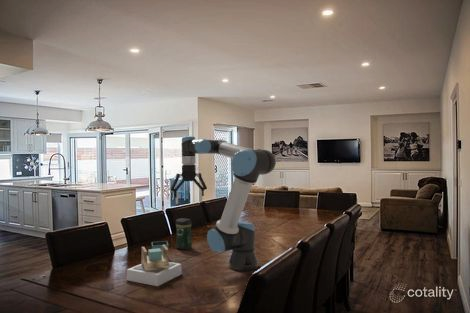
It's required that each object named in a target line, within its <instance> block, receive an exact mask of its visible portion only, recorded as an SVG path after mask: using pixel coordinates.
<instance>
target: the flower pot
mask: <svg viewBox="0 0 470 313" xmlns="http://www.w3.org/2000/svg"><path fill="white" fill-rule="evenodd" d="M162 245H165V246H166V247H167V248H168V249H169V243H168V240H163V241H152V242H151V249H158V248H160V249H161V251H162Z"/></svg>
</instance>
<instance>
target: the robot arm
mask: <svg viewBox="0 0 470 313" xmlns="http://www.w3.org/2000/svg"><path fill="white" fill-rule="evenodd" d="M196 154H214V155H220V156H222V157H223V156H224V157H227V158H230V159H231V162H230V163H231V164H230V165H231V171H232V174H233V175H232V176H233V177H234V179H233V182H232V186H231V188H230V191H229V195H228V197H227V200H226V202H225V205H224V209H223V212H222V215H221V217H220V219H218V220H217V221H216V223H215V225H214V228H211V229H209V230H208V231H207V234H206V238H207V245H208V246H209V248H210V249H211V251H213V252H214V253H224V252H228V251H231V254H230V257H229V261H228V268H229V269H231V270H233V271H240V272H241V271H242V272H243V271H244V272H245V271H253V270H256V269H258V267H259V262H258V258H257V255H256V252H255V242H256V241H255V240H256V239H255V234H256V233H255V225H254V223H252V222H249V221H240V219H241V216H242V213H243V211H244V208H245V206H246V203H247V200H248V197H249V194H250V191H251V189H252V186H253V185H254V184H256V183H257V181H258V179H259V177H260V176H261V175H262V176H263V175H267V174H270V173H271V172H272V171H274V169H275V167H276V162H277V161H276V157H275V155H274V153H273V152H271V151H269V150H267V149H260V148H257V149H253V148H249V147H246V146H241V145H238V144H234V143H230V142H227V140H224V139H206V138H200V139H196V137H195V136H182V138H181V164H182V165H181V173H176V174H175V177H174V178H175V179H174V181H173V183H172V185H171V187H170V191H172V192H173V198H175V204H176V205H178V204H179V191H178V190H179V189H180V188H181V186H182V185H184V183H185V182H193V183H194V184H195V185H196V186H197V187H198V189H200V190H199V194H198V195H199V196H198V197H199V203H203V197H204V196H205V192H204V191H205V190H207V189H208V188H207V185H206V183H205V181H204V179H203V177H202V173H201V172H196V165H195V164H196V161H197V160H196ZM196 177H197V178H198V180H199V181H200V182H199V181H198V180H197V179H196ZM179 178H181V180H180V182H178V181H179ZM177 183H178V184H177Z"/></svg>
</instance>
